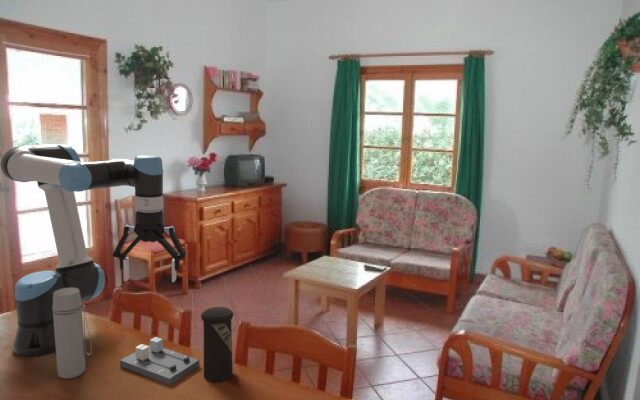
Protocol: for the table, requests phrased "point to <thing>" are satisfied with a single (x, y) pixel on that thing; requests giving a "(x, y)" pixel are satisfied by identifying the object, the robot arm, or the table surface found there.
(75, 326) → the water bottle
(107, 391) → the table surface
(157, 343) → the grey fader
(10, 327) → the table surface
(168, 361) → the console
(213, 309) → the container
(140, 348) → the cream fader
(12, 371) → the table surface
